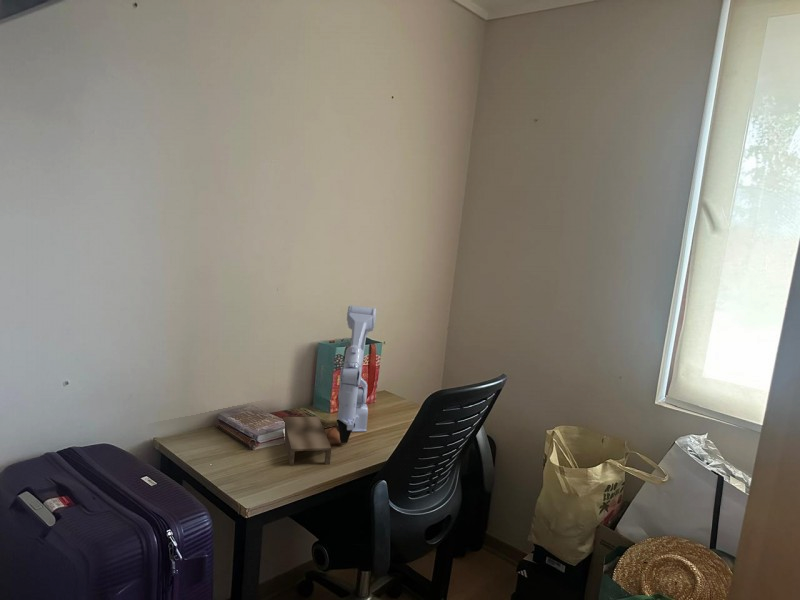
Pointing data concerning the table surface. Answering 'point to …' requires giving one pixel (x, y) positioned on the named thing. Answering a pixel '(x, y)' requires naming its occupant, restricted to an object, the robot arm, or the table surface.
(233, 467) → the table surface
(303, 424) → the miniature wooden table
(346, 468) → the table surface
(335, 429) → the sunglasses case
